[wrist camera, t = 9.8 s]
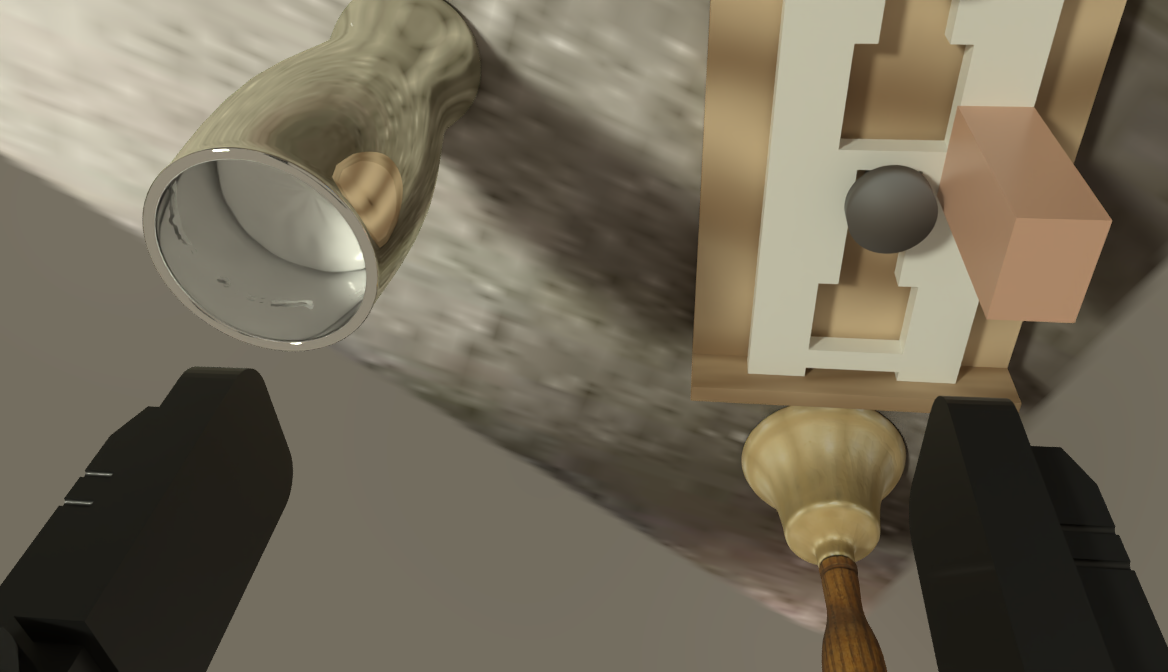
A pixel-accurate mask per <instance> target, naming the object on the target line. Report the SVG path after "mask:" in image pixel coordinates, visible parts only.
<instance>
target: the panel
mask: <svg viewBox="0 0 1168 672" xmlns="http://www.w3.org/2000/svg"><path fill="white" fill-rule="evenodd" d="M1063 3H1064V0H952V1H951V6H950V11H949V16H948V20H947V25H946V30H945V36H946V38H947V40H948V41H949V43H950V44H960V45H966V47H965V51H964V55H963V60H962V64H961V69H960V73H959V78H958V82H957V86H956V91H955V95H954V100H953V104H952V109H951V113H950V117H949V122H948V126H947V131H946V135H945V140H893V139H843V138H840V137H841V130H842V123H843V117H844V110H845V103H846V97H847V90H848V84H849V77H850V70H851V64H852V57H853V50H854V44H878V42H879V36H880V30H881V24H882V18H883V12H884V6H885V0H783V4H782V14H781V24H780V34H779V44H778V54H777V64H776V75H775V85H774V95H773V105H772V115H771V125H770V135H769V145H768V155H767V165H766V176H765V186H764V196H763V206H762V216H761V226H760V236H759V246H758V256H757V266H756V277H755V287H754V297H753V307H752V317H751V327H750V337H749V347H748V357H747V365H748V374H767V375H787V376H805V369H806V368H823V369H844V370H865V371H885V372H895V376H896V380H897V381H910V382H930V383H951V384H955V383H956V380H957V376H958V373H959V369H960V366H961V362H962V359H963V355H964V352H965V348H966V345H967V341H968V338H969V334H970V331H971V327H972V324H973V320H974V317H975V313H976V309H977V306H978V302H980V304H981V307H982V309H983V312H984V314H985V317H986V319H990V320H1014V321H1038V322H1063V323H1075V321H1076V318H1077V315H1078V313H1079V310H1080V307H1081V304H1082V302H1083V299H1084V296H1085V294H1086V291H1087V288H1088V286H1089V283H1090V280H1091V277H1092V275H1093V272H1094V269H1095V267H1096V264H1097V261H1098V258H1099V256H1100V253H1101V250H1102V248H1103V245H1104V242H1105V239H1106V237H1107V234H1108V231H1109V229H1110V226H1111V223H1112V219H1111V218H1110V216H1109V215H1108V214H1107V212H1106V211H1105V209H1104V208H1103V206H1102V205H1101V203H1100V202H1099V201H1098V199H1097V198H1096V196H1095V195H1094V193H1093V192H1092V190H1091V189H1090V187H1089V186H1088V185H1087V183H1086V182H1085V180H1084V179H1083V177H1082V176H1081V174H1080V173H1079V172H1078V170H1077V169H1076V167H1075V166H1074V164H1073V163H1072V161H1071V160H1070V158H1069V157H1068V156H1067V154H1066V153H1065V151H1064V150H1063V148H1062V147H1061V145H1060V144H1059V143H1058V141H1057V140H1056V138H1055V137H1054V135H1053V134H1052V132H1051V131H1050V129H1049V128H1048V127H1047V125H1046V124H1045V122H1044V121H1043V119H1042V118H1041V116H1040V115H1039V113H1038V112H1037V111H1036V109H1035V108H1034V105H1035V102H1036V98H1037V95H1038V91H1039V88H1040V84H1041V81H1042V77H1043V73H1044V70H1045V66H1046V63H1047V59H1048V56H1049V52H1050V49H1051V45H1052V42H1053V38H1054V35H1055V31H1056V28H1057V24H1058V21H1059V17H1060V14H1061V10H1062V7H1063ZM887 165H902V166H907V167H910V168H913V169H915V170H917V171H918V172H920V173H921V174H922V175H923V176H924V177H925V178H926V179H927V180H928V182H929V184H930V186H931V188H932V191H933V193H934V196H935V198H936V201H937V205H938V217H937V221H936V223H935V226H934V228H933V229H932V231H931V232H930V234H929V235H928V236H927V237H926V238H925V239H924V240H923V241H922V242H920V243H919V244H918V245H916V246H914V247H912V248H910V249H908V250H905V251H902V252H899V254H898V258H897V263H896V268H895V277H896V280H897V284H898V286H900V287H911V290H910V295H909V299H908V303H907V308H906V312H905V317H904V321H903V326H902V330H901V334H900V339H899V340H882V339H860V338H837V337H814V336H811V330H812V323H813V316H814V310H815V303H816V296H817V290H818V283H821V284H838V283H839V277H840V271H841V265H842V259H843V253H844V247H845V241H846V235H847V229H848V225H847V220H846V216H845V211H844V204H845V199H846V196H847V193H848V191H849V189H850V188H851V186H852V185H853V184H854V183H855V180H856V174H857V170H873V169H875V168H878V167H882V166H887Z"/></svg>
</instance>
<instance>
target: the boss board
mask: <svg viewBox="0 0 1168 672" xmlns="http://www.w3.org/2000/svg"><path fill="white" fill-rule="evenodd" d="M951 1H952V0H885V6H884V12H883V18H882V24H881V30H880V36H879V42H878V44H854V50H853V57H852V64H851V70H850V77H849V84H848V90H847V97H846V103H845V110H844V117H843V123H842V130H841V137H840V138H843V139H893V140H945V135H946V131H947V126H948V122H949V117H950V113H951V109H952V104H953V100H954V95H955V91H956V86H957V82H958V78H959V73H960V69H961V64H962V60H963V55H964V51H965V47H966V45H960V44H950V43H949V41H948V40H947V38H946V36H945V30H946V25H947V20H948V16H949V11H950V6H951ZM1126 1H1127V0H1064V3H1063V7H1062V10H1061V14H1060V17H1059V21H1058V24H1057V28H1056V31H1055V35H1054V38H1053V42H1052V45H1051V49H1050V52H1049V56H1048V59H1047V63H1046V66H1045V70H1044V73H1043V77H1042V81H1041V84H1040V88H1039V91H1038V95H1037V98H1036V102H1035V105H1034V108H1035V109H1036V111H1037V112H1038V113H1039V115H1040V116H1041V118H1042V119H1043V121H1044V122H1045V124H1046V125H1047V127H1048V128H1049V129H1050V131H1051V132H1052V134H1053V135H1054V137H1055V138H1056V140H1057V141H1058V143H1059V144H1060V145H1061V147H1062V148H1063V150H1064V151H1065V153H1066V154H1067V156H1068V157H1069V158H1070V160H1071V161H1072V163H1073V164H1074V161H1075V158H1076V155H1077V152H1078V149H1079V146H1080V143H1081V140H1082V137H1083V134H1084V131H1085V127H1086V124H1087V121H1088V118H1089V115H1090V112H1091V109H1092V106H1093V103H1094V100H1095V97H1096V94H1097V91H1098V87H1099V84H1100V81H1101V78H1102V75H1103V72H1104V69H1105V66H1106V63H1107V60H1108V57H1109V54H1110V51H1111V47H1112V44H1113V41H1114V38H1115V35H1116V32H1117V29H1118V26H1119V23H1120V20H1121V17H1122V14H1123V11H1124V7H1125V4H1126ZM782 4H783V0H710V19H709V38H708V58H707V77H706V97H705V116H704V135H703V155H702V174H701V194H700V213H699V233H698V252H697V271H696V291H695V310H694V330H693V350H692V379H691V400H693V401H712V402H731V403H750V404H769V405H788V406H807V407H826V408H845V409H864V410H883V411H902V412H921V413H930V412H931V408H932V405H933V402H934V400H935V399H936V398H937V397H938V396H963V397H990V398H1008V399H1010V400H1011V401H1012V402H1013V403H1014V405H1015V406H1016V409H1017V411H1018V413H1019V410H1020V407H1021V404H1022V403H1021V401H1020V398H1019V396H1018V393H1017V391H1016V388H1015V386H1014V383H1013V381H1012V379H1011V376H1010V374H1009V371H1008V369H1007V368H1008V364H1009V361H1010V358H1011V355H1012V352H1013V349H1014V346H1015V343H1016V340H1017V337H1018V334H1019V331H1020V328H1021V324H1022V321H1014V320H990V319H986V317H985V314H984V312H983V309H982V307H981V304H980V302H978V306H977V309H976V313H975V317H974V320H973V324H972V327H971V331H970V334H969V338H968V341H967V345H966V348H965V352H964V355H963V359H962V362H961V366H960V369H959V373H958V376H957V380H956V383H955V384H951V383H930V382H910V381H897V380H896V376H895V372H885V371H865V370H844V369H823V368H806V369H805V376H787V375H767V374H748V365H747V357H748V347H749V337H750V327H751V317H752V307H753V297H754V287H755V277H756V266H757V256H758V246H759V236H760V226H761V216H762V206H763V196H764V186H765V176H766V165H767V155H768V145H769V135H770V125H771V115H772V105H773V95H774V85H775V75H776V64H777V54H778V44H779V34H780V24H781V14H782ZM844 211H845V216H846V220H847V225H848V229H847V235H846V241H845V247H844V253H843V259H842V265H841V271H840V277H839V283H838V284H821V283H818V290H817V296H816V303H815V310H814V316H813V323H812V330H811V336H814V337H837V338H860V339H882V340H899V339H900V334H901V330H902V326H903V321H904V317H905V312H906V308H907V303H908V299H909V295H910V290H911V287H900V286H898V284H897V280H896V277H895V268H896V263H897V258H898V254H899V252H902V251H905V250H908V249H910V248H912V247H914V246H916V245H918V244H919V243H920V242H922V241H923V240H924V239H925V238H926V237H927V236H928V235H929V234H930V232H931V231H932V229H933V228H934V226H935V223H936V221H937V217H938V205H937V201H936V198H935V196H934V193H933V191H932V188H931V186H930V184H929V182H928V180H927V179H926V178H925V177H924V176H923V175H922V174H921V173H920V172H918V171H917V170H915V169H913V168H910V167H907V166H902V165H887V166H882V167H878V168H875V169H873V170H857V174H856V180H855V183H854V184H853V185H852V186H851V188H850V189H849V191H848V193H847V196H846V199H845V204H844Z"/></svg>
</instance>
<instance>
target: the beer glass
mask: <svg viewBox="0 0 1168 672" xmlns="http://www.w3.org/2000/svg"><path fill="white" fill-rule="evenodd" d="M480 80H481V60H480V54H479V50H478V46H477V43H476V41H475V38H474V36H473V34H472V32H471V30H470V28H469V27H468V25H467V24H466V22H465V21H464V20H463V18H462V17H461V16H460V15H459V14H458V12H457V11H456V10H455V9H454V8H453V7H451V6H450V5H449V4H448V3H447V2H445V1H444V0H352V1H351V2H350V3H349V4H348V5H347V7H346V8H345V9H344V11H343V12H342V13H341V15H340V17H339V18H338V20H337V22H336V24H335V27H334V29H333V32H332V34H331V37H330V39H329V40H328V41H326V42H324V43H322V44H319V45H317V46H315V47H312V48H310V49H307V50H305V51H303V52H300V53H298V54H296V55H294V56H291V57H289V58H287V59H285V60H283V61H281V62H279V63H277V64H275V65H274V66H272V67H270V68H268V69H266V70H265V71H263V72H261V73H259V74H258V75H256V76H255V77H253V78H252V79H250V80H249V81H248V82H246V83H245V84H244V85H243V86H242V87H240V88H239V89H238V90H237V91H235V92H234V93H233V94H232V95H231V96H229V97H228V98H227V99H226V100H225V101H224V102H223V103H222V104H221V105H220V106H219V107H218V108H217V109H216V110H215V111H214V112H213V113H212V114H211V115H210V116H209V117H208V118H207V119H206V120H205V121H204V122H203V123H202V125H201V126H200V127H199V128H198V129H197V131H196V132H195V133H194V134H193V135H192V137H191V138H190V139H189V140H188V141H187V143H186V144H185V145H184V146H183V148H182V149H181V150H180V151H179V153H178V154H177V155H176V157H175V158H174V159H173V160H172V162H171V163H170V164H169V165H168V166H166V167H165V168H164V169H163V170H162V171H161V172H160V173H159V174H158V176H157V177H156V178H155V180H154V181H153V183H152V185H151V187H150V188H149V191H148V193H147V196H146V199H145V202H144V207H143V233H144V238H145V242H146V246H147V249H148V252H149V255H150V257H151V260H152V262H153V264H154V266H155V268H156V270H157V271H158V273H159V275H160V277H161V278H162V279H163V281H164V282H165V284H166V285H167V286H168V288H169V289H170V290H171V291H172V293H173V294H174V295H175V296H176V297H177V298H178V299H179V300H180V301H181V302H182V303H183V304H184V305H185V306H186V307H187V308H188V309H189V310H190V311H191V312H193V313H194V314H195V315H196V316H198V317H199V318H200V319H202V320H203V321H204V322H206V323H207V324H209V325H210V326H212V327H214V328H215V329H217V330H219V331H220V332H222V333H224V334H226V335H228V336H230V337H232V338H235V339H237V340H240V341H242V342H245V343H248V344H251V345H254V346H258V347H262V348H266V349H271V350H279V351H309V350H315V349H320V348H324V347H327V346H330V345H333V344H335V343H337V342H339V341H341V340H343V339H345V338H346V337H348V336H349V335H351V334H352V333H353V332H354V331H355V330H357V329H358V328H359V327H360V326H361V324H362V323H363V322H364V321H365V320H366V318H367V317H368V315H369V313H370V311H371V309H372V307H373V305H374V304H375V302H376V301H377V299H378V298H379V296H380V295H381V294H382V292H383V291H384V290H385V288H386V287H387V285H388V284H389V282H390V281H391V279H392V278H393V277H394V275H395V274H396V272H397V271H398V269H399V268H400V266H401V264H402V263H403V261H404V259H405V258H406V256H407V254H408V252H409V251H410V249H411V247H412V246H413V244H414V242H415V240H416V238H417V236H418V234H419V231H420V229H421V227H422V225H423V222H424V220H425V218H426V216H427V213H428V211H429V208H430V204H431V201H432V197H433V193H434V189H435V185H436V181H437V177H438V171H439V165H440V159H441V152H442V145H443V139H444V134H445V131H446V129H447V128H449V127H450V126H452V125H453V124H454V123H455V122H457V121H458V120H459V119H460V118H461V117H462V116H463V115H464V114H465V113H466V112H467V110H468V109H469V108H470V107H471V105H472V103H473V102H474V100H475V98H476V96H477V93H478V90H479V86H480Z"/></svg>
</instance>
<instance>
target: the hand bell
mask: <svg viewBox="0 0 1168 672" xmlns="http://www.w3.org/2000/svg"><path fill="white" fill-rule="evenodd" d="M905 461H906V449H905V445H904V442H903V439H902V437H901V435H900V433H899V432H898V430H897V429H896V428H895V427H894V425H893V424H892V423H891V422H890V421H889V420H888V419H886V418H885V417H884V416H882V415H881V414H880V413H878V412H877V411H875V410H864V409H845V408H826V407H807V406H788V407H785V408H783V409H781V410H779V411H777V412H775V413H773V414H771V415H769V416H768V417H767V418H766V419H764V420H763V421H762V422H761V423H759V424H758V425H757V427H756V428H755V429H754V430H753V431H752V432H751V433H750V435H749V436H748V438H747V440H746V442H745V445H744V448H743V452H742V469H743V473H744V476H745V478H746V480H747V482H748V483H749V485H750V486H751V488H752V489H753V490H754V492H755V493H756V494H757V495H758V496H759V497H760V498H761V499H762V500H764V501H765V502H766V503H767V504H769V505H770V506H772V507H774V508H776V509H777V511H778V513H779V516H780V519H781V522H782V526H783V530H784V534H785V538H786V541H787V543H788V545H789V547H790V548H791V550H792V551H793V552H794V553H795V554H796V555H797V556H799V557H800V558H802V559H803V560H805V561H807V562H810V563H813V564H816V565H818V567H819V572H820V576H821V579H822V586H823V592H824V597H825V602H826V608H827V624H826V629H825V634H824V638H823V645H822V672H887V669H886V665H885V661H884V657H883V654H882V651H881V648H880V646H879V643H878V641H877V639H876V637H875V635H874V633H873V631H872V629H871V627H870V626H869V624H868V622H867V620H866V617H865V615H864V612H863V608H862V603H861V595H860V587H859V580H858V570H857V565H856V563H855V562H856V561H859V560H861V559H863V558H864V557H866V556H867V555H868V554H869V553H871V551H872V550H873V549H874V548H875V547H876V545H877V543H878V541H879V538H880V506H881V500H883V499H884V498H885V497H886V496H887V495H888V494H889V493H890V492H891V491H892V490H893V489H894V487H895V486H896V484H897V483H898V481H899V479H900V478H901V475H902V473H903V470H904V467H905Z"/></svg>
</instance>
